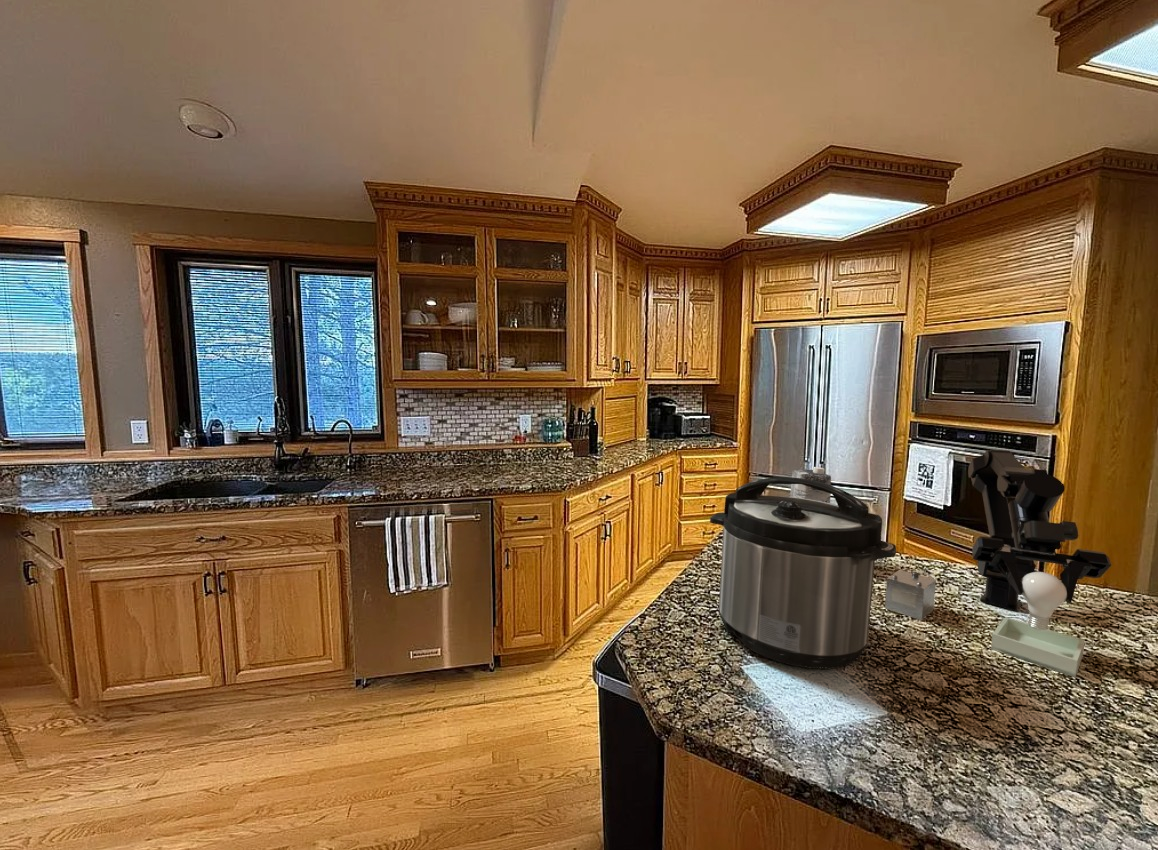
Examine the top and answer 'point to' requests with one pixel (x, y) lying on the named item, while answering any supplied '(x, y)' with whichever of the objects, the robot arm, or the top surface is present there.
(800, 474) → the juice carton
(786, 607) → the pressure cooker
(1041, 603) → the lightbulb
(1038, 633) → the tray
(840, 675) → the top surface
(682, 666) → the top surface
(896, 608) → the block
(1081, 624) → the top surface
